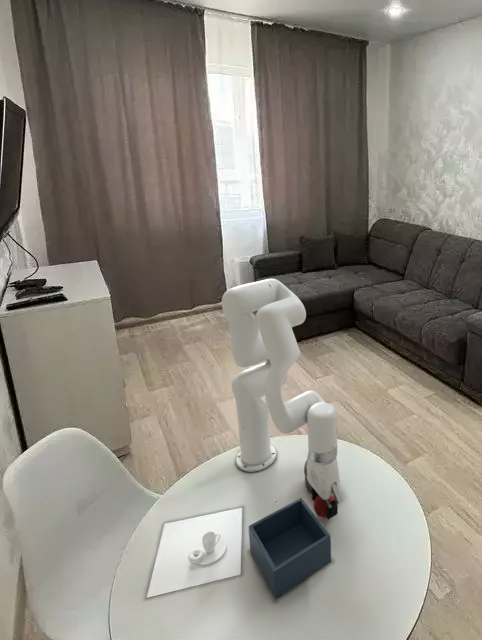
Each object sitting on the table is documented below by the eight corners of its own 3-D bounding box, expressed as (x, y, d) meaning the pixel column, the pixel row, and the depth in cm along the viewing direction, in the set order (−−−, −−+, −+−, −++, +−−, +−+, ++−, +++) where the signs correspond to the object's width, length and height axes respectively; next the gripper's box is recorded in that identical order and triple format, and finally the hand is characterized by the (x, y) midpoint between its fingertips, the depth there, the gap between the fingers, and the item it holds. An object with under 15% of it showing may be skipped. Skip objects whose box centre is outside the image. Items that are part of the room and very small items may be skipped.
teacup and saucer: (187, 570, 98) (185, 556, 97) (191, 541, 105) (190, 528, 104) (226, 561, 100) (224, 547, 99) (227, 533, 107) (226, 520, 107)
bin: (250, 551, 103) (248, 526, 101) (302, 521, 111) (301, 497, 110) (275, 599, 91) (273, 571, 90) (331, 561, 100) (330, 535, 98)
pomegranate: (332, 526, 110) (331, 501, 108) (311, 523, 111) (310, 498, 109) (337, 509, 115) (337, 484, 113) (318, 505, 116) (317, 481, 114)
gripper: (294, 438, 113) (297, 493, 117) (328, 475, 99) (329, 536, 103) (318, 428, 117) (320, 481, 121) (353, 462, 104) (354, 521, 108)
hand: (324, 506), depth 112 cm, fingers open, 6 cm apart
